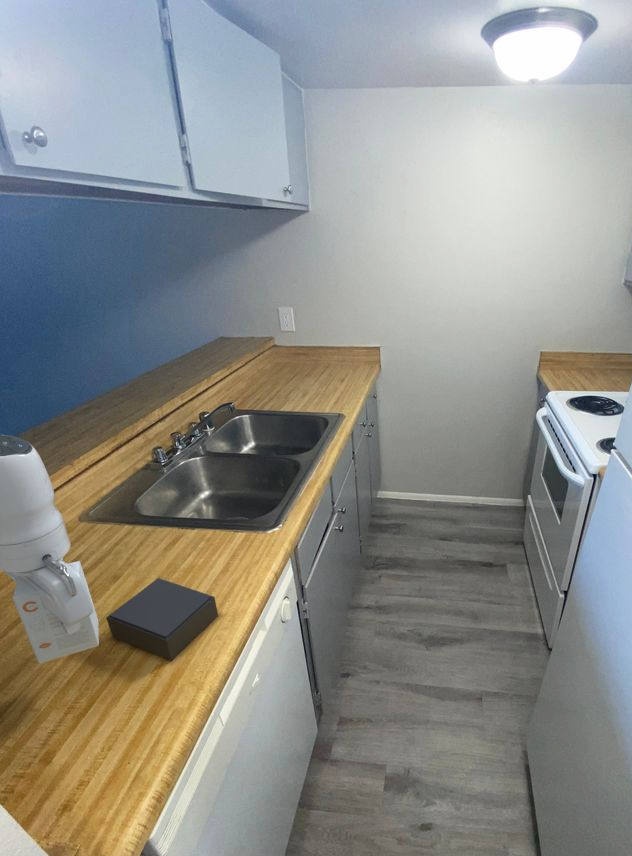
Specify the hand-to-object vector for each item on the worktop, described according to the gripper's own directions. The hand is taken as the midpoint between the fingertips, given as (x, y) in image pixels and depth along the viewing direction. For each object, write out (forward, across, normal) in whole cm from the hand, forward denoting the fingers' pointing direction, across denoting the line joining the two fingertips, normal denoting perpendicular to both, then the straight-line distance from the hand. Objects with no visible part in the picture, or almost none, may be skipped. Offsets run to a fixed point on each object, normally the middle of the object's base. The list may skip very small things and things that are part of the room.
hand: (57, 617), depth 74 cm
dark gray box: (+13, -2, -15) cm, 20 cm away
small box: (+6, 0, 0) cm, 6 cm away
